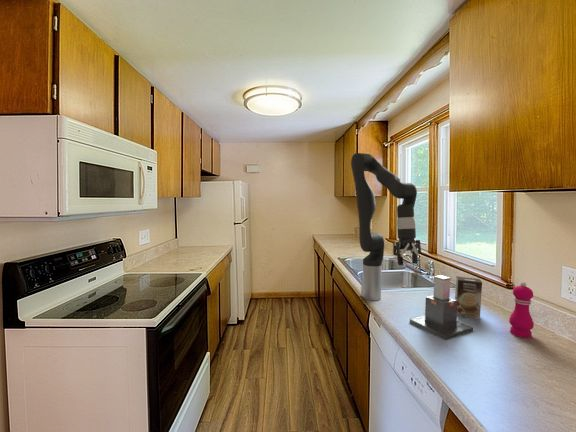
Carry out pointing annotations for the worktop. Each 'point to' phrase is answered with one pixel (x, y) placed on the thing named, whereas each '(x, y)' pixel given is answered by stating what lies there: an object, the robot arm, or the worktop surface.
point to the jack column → (442, 288)
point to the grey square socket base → (441, 319)
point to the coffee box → (468, 297)
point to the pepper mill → (521, 312)
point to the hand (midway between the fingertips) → (407, 264)
